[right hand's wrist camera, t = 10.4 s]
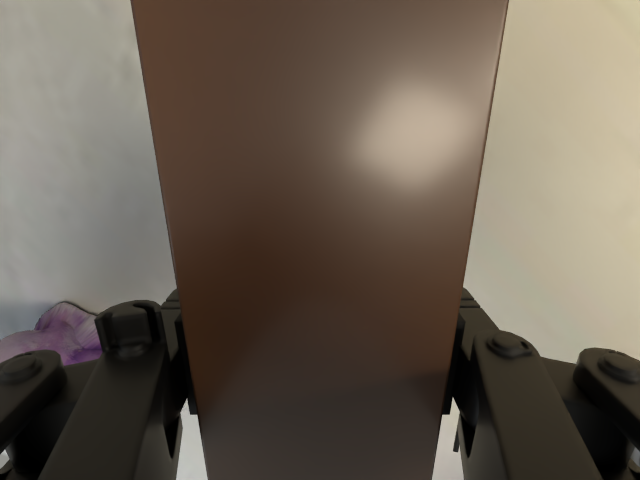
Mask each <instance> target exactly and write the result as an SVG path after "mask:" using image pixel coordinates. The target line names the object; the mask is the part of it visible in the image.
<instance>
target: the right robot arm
mask: <svg viewBox="0 0 640 480" xmlns="http://www.w3.org/2000/svg"><path fill="white" fill-rule="evenodd" d="M94 322H95V326H96V330H97V333H98V337H99V341H100V344H101V348H102V354H101V356H100V358H98V359H95V360H90V361H85V362H80V363H75V364H70V365H65V366H64V365H63V361H62V358H61V355H60V354H59V353H57V352H56V351H54V350H47V349H44V350H35V351H29V352H25V353H21V354H18V355H15V356H14V357H12V358H10V359H8V360H5V361H3V362H1V363H0V454H1V453H2V452H3V451H4V450H6V452H7V454H8V456H9V461H8V462H7V463H6V464H5V465H4V466H3V467H2V468H1V469H0V480H176V475H177V467H178V460H179V452H180V445H181V437H182V429H183V427H182V420H181V414H180V412H181V410H182V408H183V405H184V403H185V401H186V399H188V405H189V411H190V415H197V409H196V403H195V396H194V390H193V384H192V378H191V372H190V366H189V359H188V353H187V347H186V341H185V335H184V328H183V322H182V316H181V310H180V304H179V297H178V291H177V289H175V290H174V291H173V292H172V293H171V294H170V296H169V297H168V298H167V299H166V302H164V303H163V304H162V305H161V306H160V305H159V304H157V303H156V302H154V301H149V300H134V301H129V302H124V303H121V304H118V305H115V306H113V307H110V308H108V309H107V310H105V311H103V312H102V313H100V314H99V315H98V316H97V317H96V318H95V319H94ZM452 398H454V400H455V402H456V404H457V406H458V408H459V411H460V414H459V420H458V425H457V431H456V436H455V441H454V448H453V451H454V452H458V449H459V445H460V451H461V459H462V466H463V474H464V480H640V361H639V360H637V359H634V358H632V357H630V356H628V355H626V354H624V353H621V352H618V351H617V352H616V351H615V350H610V349H602V348H589V349H584V350H583V351H582V352H581V353H580V354H579V357H578V360H577V364H573V363H568V362H563V361H558V360H553V359H548V358H544V357H540V355H539V353H538V351H537V350H536V349H535V348H534V346H533V345H532V344H531V343H529V342H528V341H526V340H525V339H524V338H522V337H520V336H517V335H515V334H513V333H510V332H506V331H502V330H499V328H498V327H497V326H496V325H495V324H494V322H493V321H492V320H491V319H490V317H489V316H488V315H487V314H486V313H485V311H484V310H483V309H482V308H480V305H479V304H478V303H477V302H476V300H474V298H473V297H472V296H471V294H470V293H469V292H468V291H467V290H466V289H465V288H462V295H461V301H460V307H459V313H458V319H457V326H456V332H455V338H454V344H453V351H452V357H451V363H450V369H449V375H448V382H447V388H446V394H445V400H444V406H443V413H442V415H450V410H451V404H452Z"/></svg>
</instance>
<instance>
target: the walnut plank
mask: <svg viewBox="0 0 640 480" xmlns="http://www.w3.org/2000/svg"><path fill="white" fill-rule="evenodd" d="M508 3H509V0H131V6H132V13H133V19H134V25H135V31H136V37H137V44H138V50H139V56H140V62H141V68H142V75H143V81H144V87H145V93H146V99H147V106H148V112H149V118H150V124H151V130H152V136H153V143H154V149H155V155H156V161H157V167H158V174H159V180H160V186H161V192H162V198H163V205H164V211H165V217H166V223H167V229H168V236H169V242H170V248H171V254H172V260H173V266H174V273H175V279H176V285H177V291H178V297H179V304H180V310H181V316H182V322H183V328H184V335H185V341H186V347H187V353H188V359H189V366H190V372H191V378H192V384H193V390H194V396H195V403H196V409H197V415H198V421H199V427H200V434H201V440H202V446H203V452H204V458H205V465H206V471H207V477H208V480H432V475H433V468H434V462H435V456H436V450H437V444H438V437H439V431H440V425H441V419H442V413H443V406H444V400H445V394H446V388H447V382H448V375H449V369H450V363H451V357H452V351H453V344H454V338H455V332H456V326H457V319H458V313H459V307H460V301H461V295H462V288H463V282H464V276H465V270H466V264H467V257H468V251H469V245H470V239H471V233H472V226H473V220H474V214H475V208H476V202H477V195H478V189H479V183H480V177H481V170H482V164H483V158H484V152H485V146H486V139H487V133H488V127H489V121H490V115H491V108H492V102H493V96H494V90H495V84H496V77H497V71H498V65H499V59H500V53H501V46H502V40H503V34H504V28H505V21H506V15H507V9H508Z"/></svg>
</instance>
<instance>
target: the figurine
mask: <svg viewBox="0 0 640 480" xmlns="http://www.w3.org/2000/svg"><path fill="white" fill-rule="evenodd" d="M96 317H97V316H95V315H92V314H88V313H86V312H84V311H82V310H81V309H79V308H77V307H76V306H73V305H71V304H68V303H59V304H57V305H56V306H55V307H53V308H52V309H50V310H48V312H46V313H44V314H43V315H42V316H41V318H39V321H38V323H37V324H36V326H35V329H34V330H29V331H22V332H17V333H14V334H12V335H9V336H7V337H5V338H3V339H2V340H0V363H1V362H3V361H5V360H8V359H10V358H12V357H14V356H15V355H18V354H21V353H25V352H29V351H35V350H44V349H47V350H54V351H56V352H57V353H59V354H60V355H61V358H62V361H63V365H64V366H65V365H70V364H75V363H80V362H85V361H90V360H95V359H98V358H100V356H101V354H102V348H101V344H100V341H99V337H98V333H97V330H96V326H95V322H94V319H95V318H96Z"/></svg>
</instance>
